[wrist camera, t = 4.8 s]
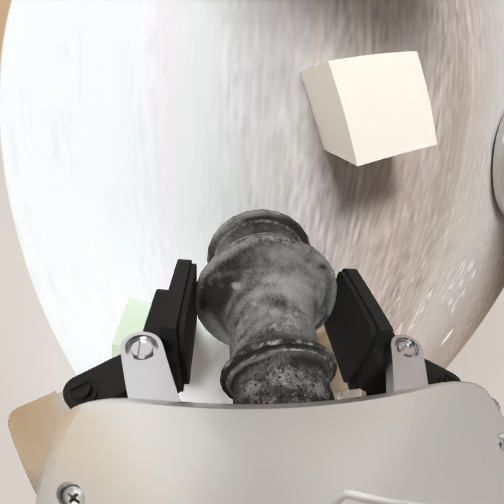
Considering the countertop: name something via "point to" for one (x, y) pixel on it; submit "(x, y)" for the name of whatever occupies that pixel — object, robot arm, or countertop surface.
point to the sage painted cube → (130, 322)
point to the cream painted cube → (371, 106)
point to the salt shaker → (268, 309)
